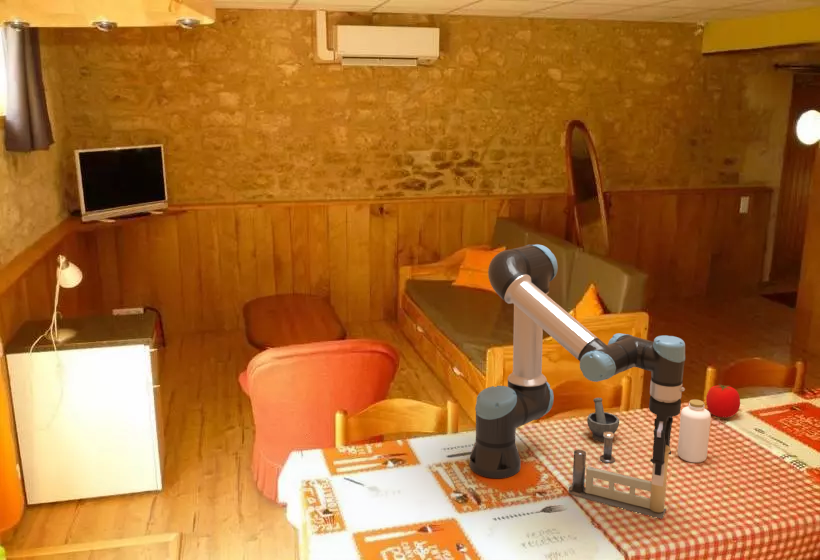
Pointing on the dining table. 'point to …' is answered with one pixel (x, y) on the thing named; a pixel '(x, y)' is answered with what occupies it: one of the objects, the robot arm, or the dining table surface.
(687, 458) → the potion bottle
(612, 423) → the mortar and pestle
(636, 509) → the strip
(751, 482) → the dining table surface
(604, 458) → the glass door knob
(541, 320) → the robot arm
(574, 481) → the brown knob post
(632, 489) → the slotted fence panel
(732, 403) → the tomato
